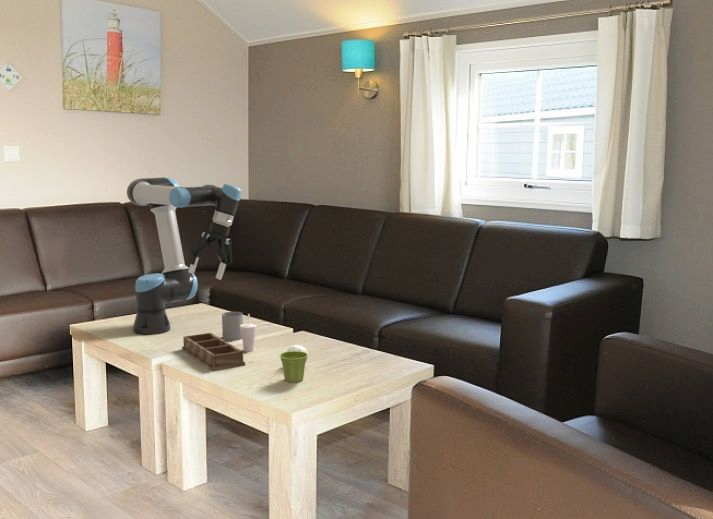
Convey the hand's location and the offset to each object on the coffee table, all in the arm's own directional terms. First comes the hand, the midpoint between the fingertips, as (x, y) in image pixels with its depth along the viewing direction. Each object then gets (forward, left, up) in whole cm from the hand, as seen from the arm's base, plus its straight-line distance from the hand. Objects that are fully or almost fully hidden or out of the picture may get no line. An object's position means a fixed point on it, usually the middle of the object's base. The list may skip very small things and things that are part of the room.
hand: (204, 276), depth 284 cm
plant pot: (+59, +8, -27) cm, 65 cm away
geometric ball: (+46, +16, -27) cm, 56 cm away
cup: (-2, +12, -27) cm, 30 cm away
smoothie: (+18, +10, -27) cm, 34 cm away
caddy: (+19, -5, -27) cm, 33 cm away
